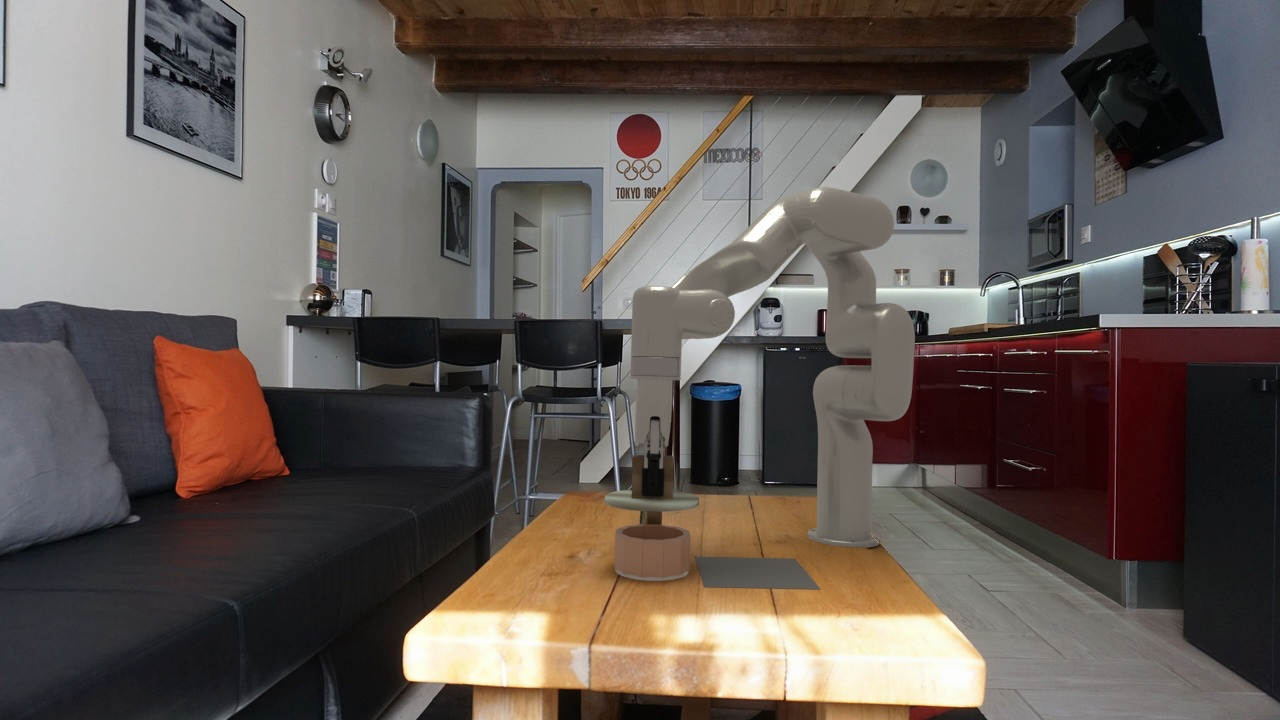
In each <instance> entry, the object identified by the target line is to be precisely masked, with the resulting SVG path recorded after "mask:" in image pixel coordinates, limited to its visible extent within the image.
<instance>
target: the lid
mask: <svg viewBox="0 0 1280 720" xmlns="http://www.w3.org/2000/svg"><path fill="white" fill-rule="evenodd" d="M674 459H675V458H674V456H673V455H663V469H664V495H663V496H662V497H652V496H642V468H644V454H633V455H632V465H631V466H632V472H631V473H632V474H631V489H625V490H624V489H623V490H615V491H612V492H608V493H606V494H605V495H604V504H606V505H607V506H609V507H612V508H617V509H620V510H627V511H628V510H629V511H637V512H641V511H652V512H662V513H663V512H678V511H679V512H680V511H687V510H691V509H695V508H697V507H699V505H700V497H699V496H697V495H695V494H692V493H689V492H684V491H683V492H682V491H677V490H674V462H675V461H674Z"/></svg>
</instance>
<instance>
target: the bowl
mask: <svg viewBox="0 0 1280 720" xmlns="http://www.w3.org/2000/svg"><path fill="white" fill-rule="evenodd" d="M639 524H640V523H639ZM639 524H632V525H625V526H621V527H619V528H616V529H615V532H614V533H615V536H614V537H615V538H614V541H615V542H614V571H615V573H616V574H617V575H619V576H621V577H624V578H627V579H631V580H637V581H646V582H663V581H672V580H677V579H682V578H684V577H686V576H687V575H689V573H690V569H691V533H690V530H688V529H685V528H682V527H680V526H674V525H667V524H662V525H659V524H640V525H639Z"/></svg>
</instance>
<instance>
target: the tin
mask: <svg viewBox="0 0 1280 720" xmlns="http://www.w3.org/2000/svg"><path fill="white" fill-rule="evenodd" d="M639 512H640V515H639V523H638V525H640V524H659V525H663V524H662V523H663V512H652V511H639Z"/></svg>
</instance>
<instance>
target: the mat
mask: <svg viewBox="0 0 1280 720" xmlns="http://www.w3.org/2000/svg"><path fill="white" fill-rule="evenodd" d="M694 557H695V558H694V559H695V562H696V565H697V569H698V572H699V576H700V577H701V582H702V585H703V588H709V589H710V588H714V589H715V588H717V589H762V590H763V589H764V590H765V589H766V590H767V589H768V590H809V591H810V590H813V591H815V590H818V591H821V589H822V588H821V587H820V586H819V585H818V584H817V583H816V582H815V580H814V579H813V577H812V576H811V575H810V574H809V573H808V571H806V569H805V568H804V567H803V566H802V565H801V563H800V562H799V561H798V560H797V558H787V557H786V558H783V557H782V558H781V557H778V558H777V557H740V556H739V557H737V556H735V557H733V556H694Z"/></svg>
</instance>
